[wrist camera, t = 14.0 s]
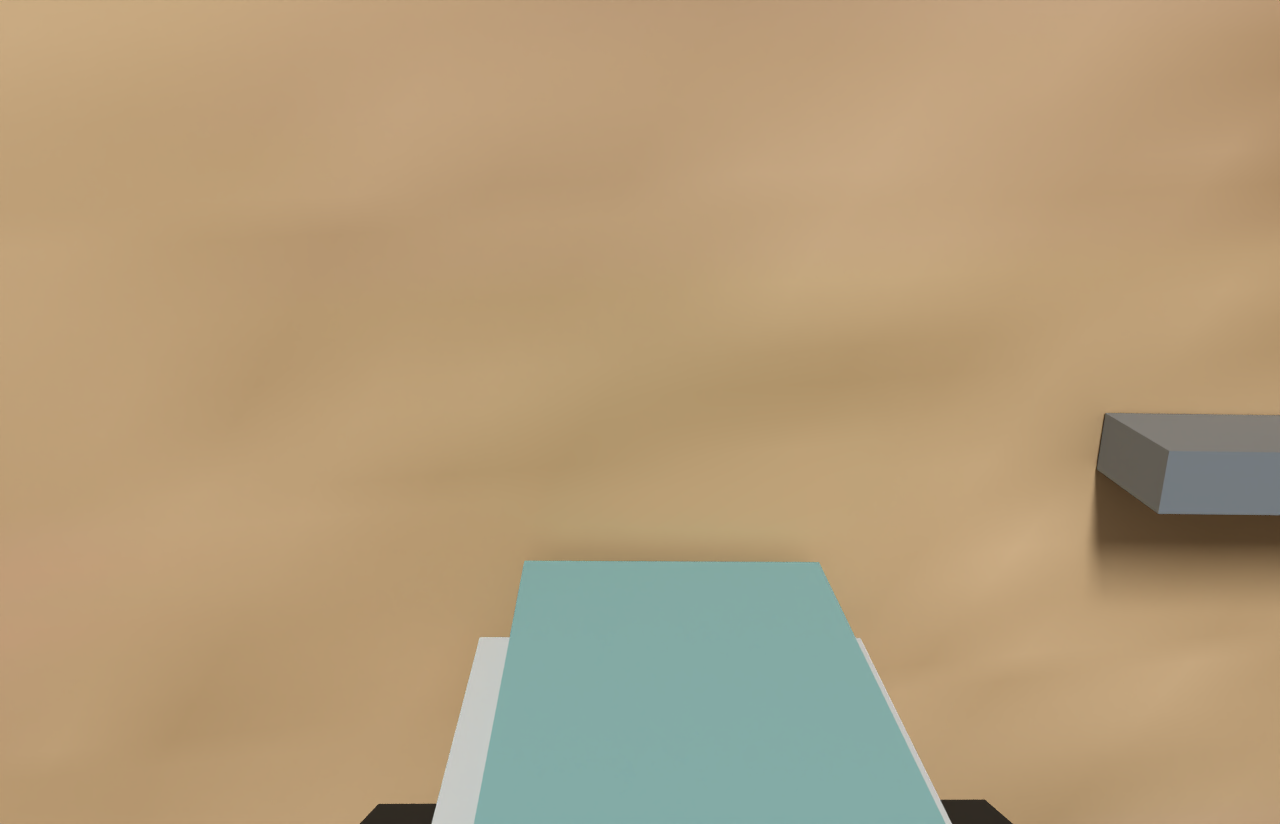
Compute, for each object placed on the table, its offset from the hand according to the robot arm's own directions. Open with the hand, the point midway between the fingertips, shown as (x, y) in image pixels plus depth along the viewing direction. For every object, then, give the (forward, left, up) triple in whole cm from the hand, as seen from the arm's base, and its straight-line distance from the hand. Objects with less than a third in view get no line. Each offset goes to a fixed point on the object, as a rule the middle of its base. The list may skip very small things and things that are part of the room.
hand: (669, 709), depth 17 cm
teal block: (0, 0, 0) cm, 0 cm away
